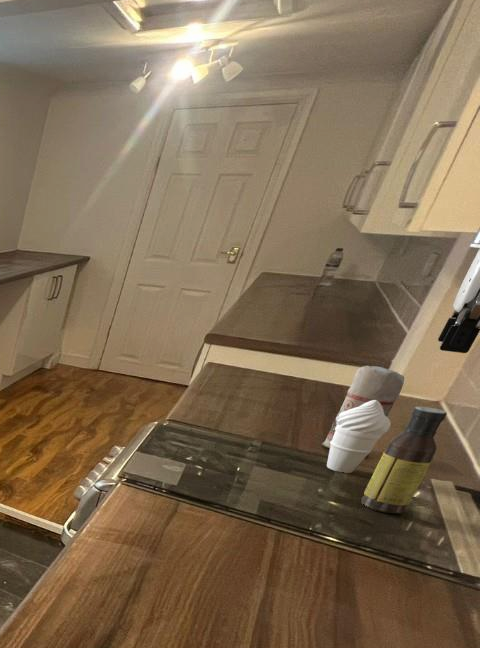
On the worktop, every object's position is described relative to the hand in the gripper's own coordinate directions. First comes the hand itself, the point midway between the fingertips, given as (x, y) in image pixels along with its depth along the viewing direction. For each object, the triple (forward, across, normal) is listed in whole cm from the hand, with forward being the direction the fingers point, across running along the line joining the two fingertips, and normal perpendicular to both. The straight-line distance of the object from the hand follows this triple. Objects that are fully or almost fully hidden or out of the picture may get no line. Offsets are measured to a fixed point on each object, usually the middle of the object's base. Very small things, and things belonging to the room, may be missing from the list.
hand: (451, 346), depth 98 cm
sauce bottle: (+31, +2, -2) cm, 32 cm away
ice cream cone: (+31, +20, +5) cm, 37 cm away
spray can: (+32, +36, +5) cm, 48 cm away
